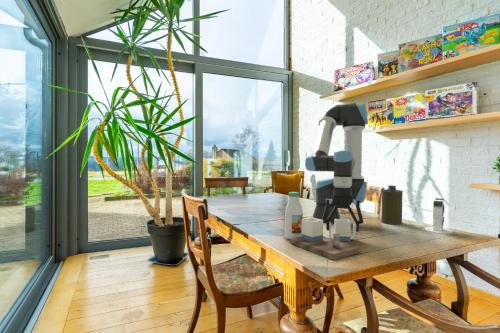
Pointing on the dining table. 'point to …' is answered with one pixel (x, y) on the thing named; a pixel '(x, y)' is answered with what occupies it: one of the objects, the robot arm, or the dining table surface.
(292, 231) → the milk bottle
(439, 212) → the light grey upright piece
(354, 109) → the robot arm
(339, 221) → the white sleeve
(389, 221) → the canister
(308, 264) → the dining table surface
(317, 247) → the pin board
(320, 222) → the seated sleeve
